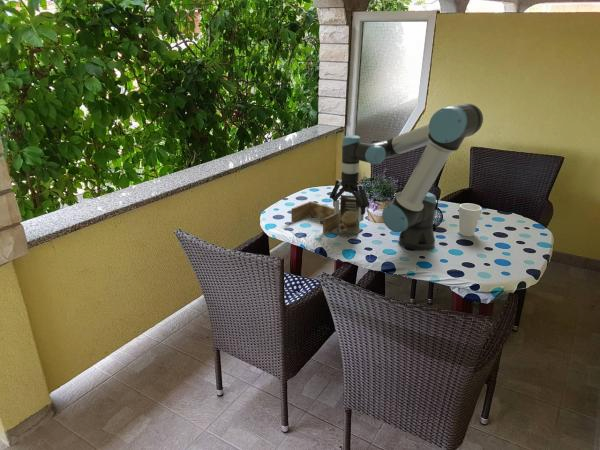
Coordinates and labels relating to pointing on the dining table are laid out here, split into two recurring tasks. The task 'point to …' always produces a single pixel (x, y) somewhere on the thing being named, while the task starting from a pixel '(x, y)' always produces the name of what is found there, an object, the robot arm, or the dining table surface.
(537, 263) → the dining table surface
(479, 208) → the foam cup
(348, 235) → the coaster
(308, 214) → the wooden u-shaped bracket
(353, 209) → the coffee box
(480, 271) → the dining table surface
